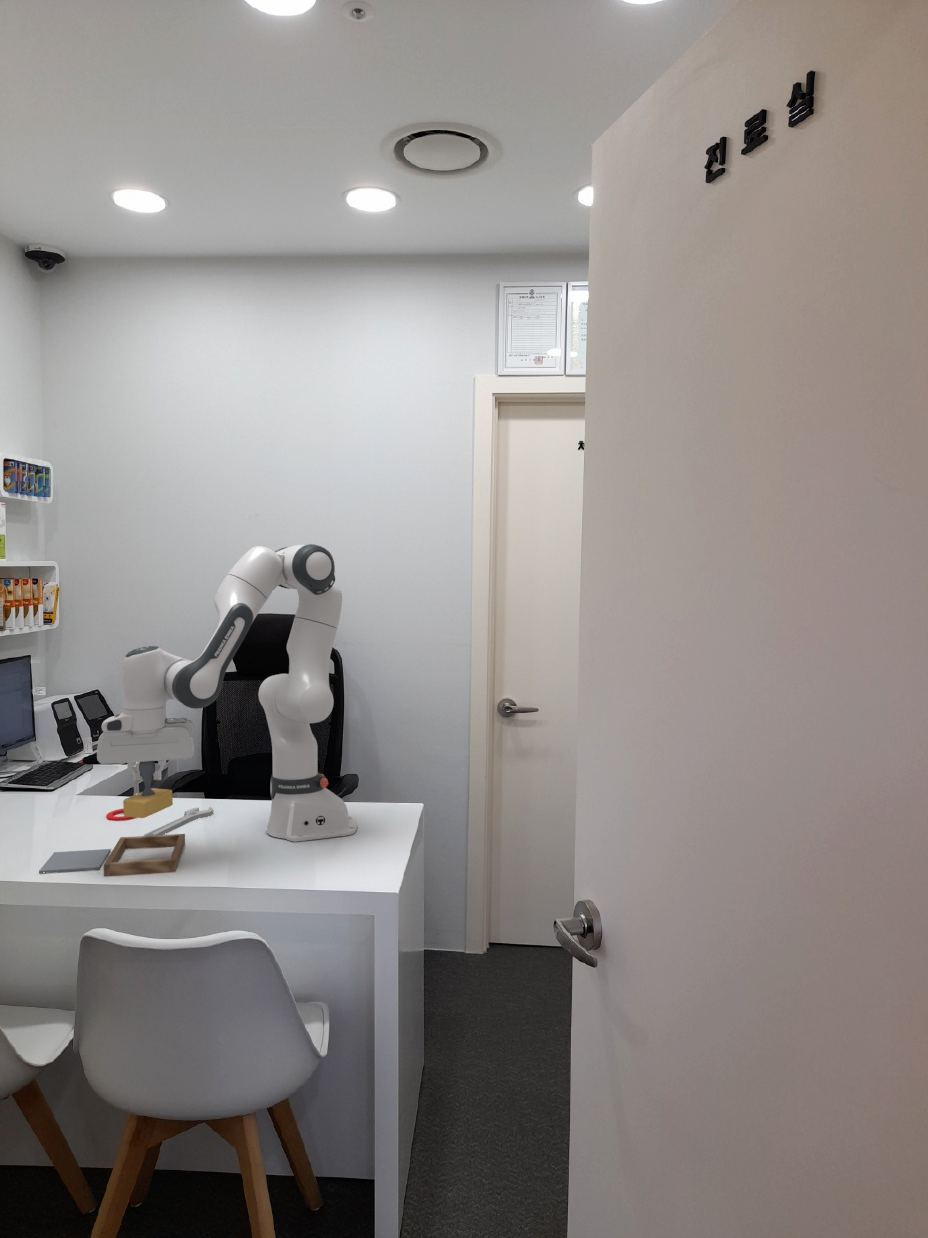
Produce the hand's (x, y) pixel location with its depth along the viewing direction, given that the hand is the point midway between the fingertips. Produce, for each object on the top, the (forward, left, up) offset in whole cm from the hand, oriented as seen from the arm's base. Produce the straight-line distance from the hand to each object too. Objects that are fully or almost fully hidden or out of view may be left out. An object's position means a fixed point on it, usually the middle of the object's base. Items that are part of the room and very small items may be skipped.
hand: (147, 780), depth 184 cm
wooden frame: (0, 0, -18) cm, 18 cm away
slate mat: (+15, -1, -18) cm, 24 cm away
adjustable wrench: (-3, -25, -19) cm, 32 cm away
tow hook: (+11, -36, -18) cm, 42 cm away
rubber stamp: (0, 0, -7) cm, 7 cm away
